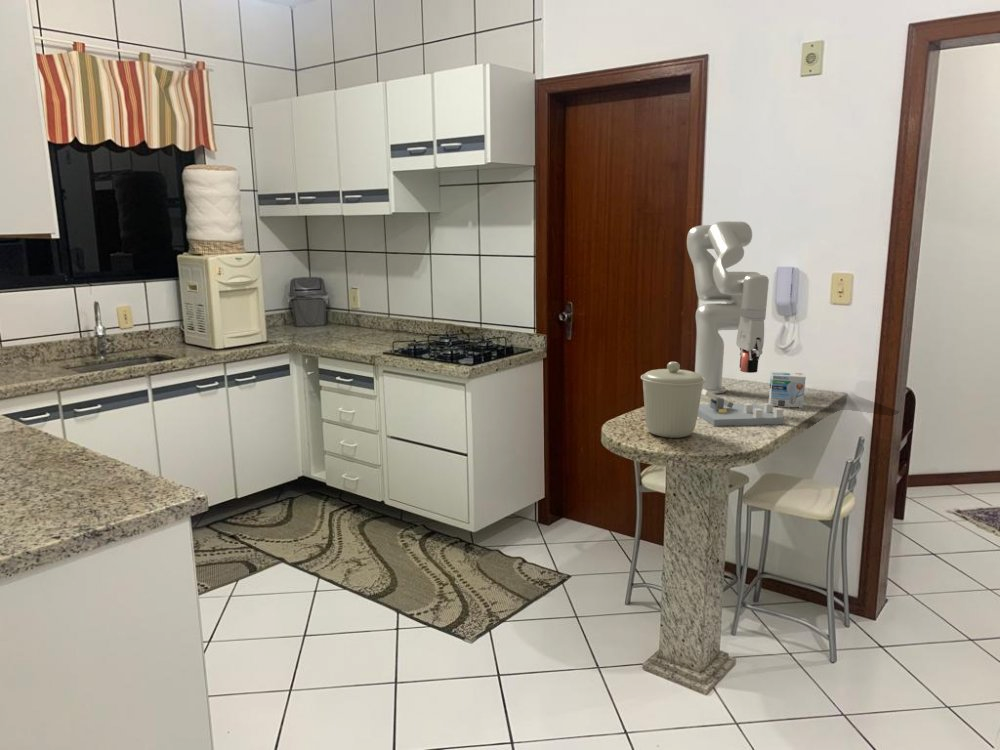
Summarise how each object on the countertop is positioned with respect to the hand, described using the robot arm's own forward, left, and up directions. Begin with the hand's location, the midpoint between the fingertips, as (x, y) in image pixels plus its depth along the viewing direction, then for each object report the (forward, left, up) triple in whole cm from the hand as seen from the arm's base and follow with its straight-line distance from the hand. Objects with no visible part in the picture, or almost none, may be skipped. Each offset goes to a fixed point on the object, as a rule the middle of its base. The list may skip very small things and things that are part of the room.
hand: (748, 369), depth 246 cm
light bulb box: (-6, +17, -14) cm, 23 cm away
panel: (+8, -7, -14) cm, 17 cm away
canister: (+24, -34, -14) cm, 44 cm away
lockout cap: (0, 0, 0) cm, 0 cm away
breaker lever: (+5, -12, -8) cm, 15 cm away
